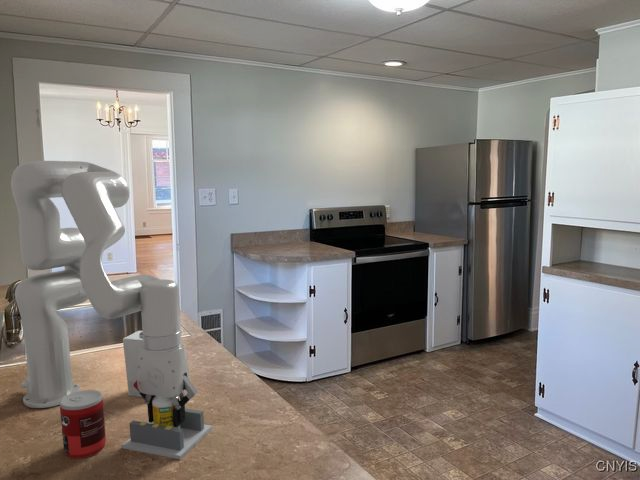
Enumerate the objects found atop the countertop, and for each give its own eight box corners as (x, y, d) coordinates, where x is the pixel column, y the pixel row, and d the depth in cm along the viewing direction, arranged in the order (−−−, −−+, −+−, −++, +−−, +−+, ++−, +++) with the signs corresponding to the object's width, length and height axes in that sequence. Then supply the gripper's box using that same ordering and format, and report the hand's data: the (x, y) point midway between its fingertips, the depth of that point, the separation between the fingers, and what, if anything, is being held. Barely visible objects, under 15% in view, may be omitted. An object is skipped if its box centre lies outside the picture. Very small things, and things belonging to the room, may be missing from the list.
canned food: (73, 439, 104) (68, 390, 102) (111, 437, 104) (108, 388, 103) (57, 460, 96) (52, 408, 94) (98, 458, 97) (94, 405, 95)
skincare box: (169, 389, 127) (166, 332, 125) (153, 401, 121) (149, 340, 118) (143, 385, 129) (139, 329, 127) (126, 396, 123) (121, 337, 121)
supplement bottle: (176, 421, 107) (173, 379, 106) (183, 431, 103) (181, 388, 101) (151, 428, 104) (148, 385, 103) (157, 439, 100) (155, 395, 98)
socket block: (121, 448, 100) (120, 425, 99) (158, 419, 111) (156, 399, 111) (180, 459, 96) (179, 436, 95) (212, 429, 107) (211, 407, 106)
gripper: (115, 341, 100) (121, 424, 102) (188, 350, 94) (192, 437, 97) (139, 330, 107) (144, 407, 109) (208, 337, 101) (211, 419, 104)
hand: (166, 420), depth 103 cm, fingers closed on supplement bottle, 5 cm apart
